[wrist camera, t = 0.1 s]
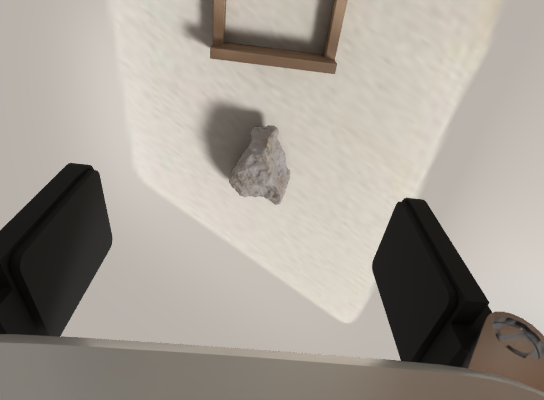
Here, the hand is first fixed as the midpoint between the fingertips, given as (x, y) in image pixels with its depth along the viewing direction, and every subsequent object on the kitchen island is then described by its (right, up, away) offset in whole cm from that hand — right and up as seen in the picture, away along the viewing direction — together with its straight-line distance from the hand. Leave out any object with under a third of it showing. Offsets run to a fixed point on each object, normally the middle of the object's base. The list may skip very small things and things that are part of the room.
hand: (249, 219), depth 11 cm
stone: (0, +10, +30) cm, 32 cm away
